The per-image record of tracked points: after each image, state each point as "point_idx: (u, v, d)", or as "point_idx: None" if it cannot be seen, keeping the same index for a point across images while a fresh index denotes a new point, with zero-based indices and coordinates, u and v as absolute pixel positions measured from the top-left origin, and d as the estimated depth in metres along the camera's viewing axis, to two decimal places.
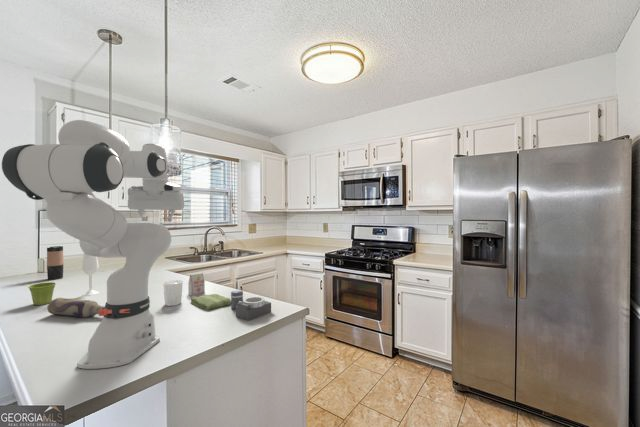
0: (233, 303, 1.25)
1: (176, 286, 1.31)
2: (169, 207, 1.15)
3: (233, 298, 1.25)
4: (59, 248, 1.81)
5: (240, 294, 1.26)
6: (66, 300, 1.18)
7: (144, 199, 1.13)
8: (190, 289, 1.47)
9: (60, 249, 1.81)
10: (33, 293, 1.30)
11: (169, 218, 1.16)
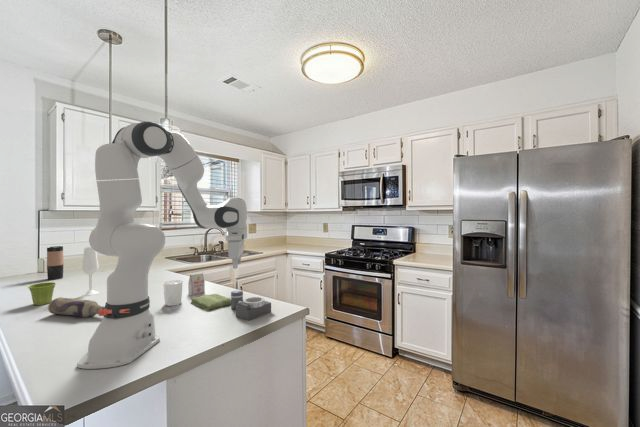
0: (233, 303, 1.25)
1: (176, 286, 1.31)
2: None
3: (233, 298, 1.25)
4: (59, 248, 1.81)
5: (240, 294, 1.26)
6: (66, 300, 1.19)
7: None
8: (190, 289, 1.47)
9: (60, 249, 1.81)
10: (33, 293, 1.30)
11: (233, 265, 1.23)
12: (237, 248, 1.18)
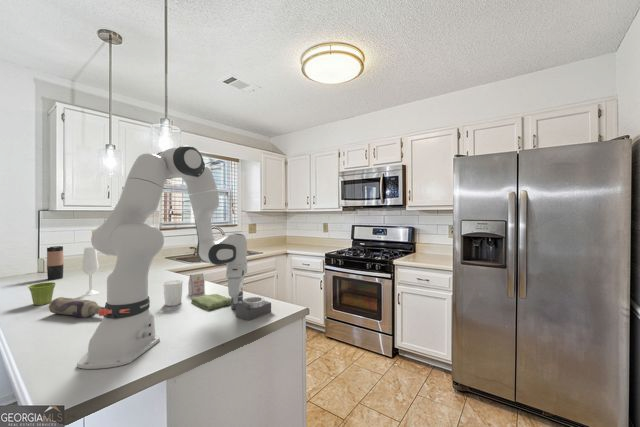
0: (233, 303, 1.25)
1: (176, 286, 1.31)
2: None
3: None
4: (59, 248, 1.81)
5: (240, 294, 1.26)
6: (67, 300, 1.19)
7: None
8: (190, 289, 1.47)
9: (60, 249, 1.81)
10: (33, 293, 1.30)
11: None
12: (237, 285, 1.18)
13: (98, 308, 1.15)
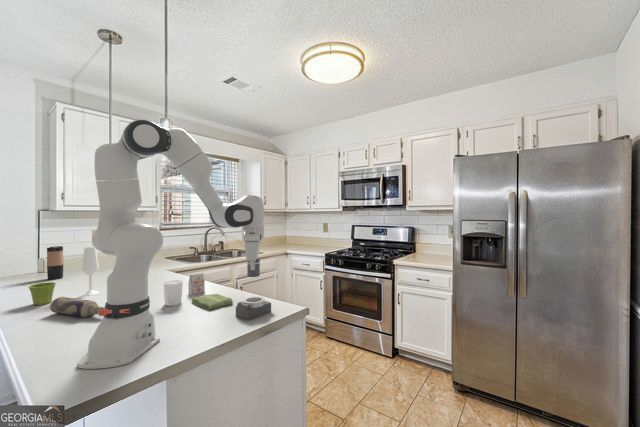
0: (250, 270, 1.17)
1: (176, 286, 1.31)
2: None
3: None
4: (59, 248, 1.81)
5: (257, 261, 1.18)
6: (67, 299, 1.19)
7: None
8: (190, 289, 1.47)
9: (60, 249, 1.81)
10: (33, 293, 1.30)
11: None
12: (255, 249, 1.10)
13: (97, 308, 1.15)
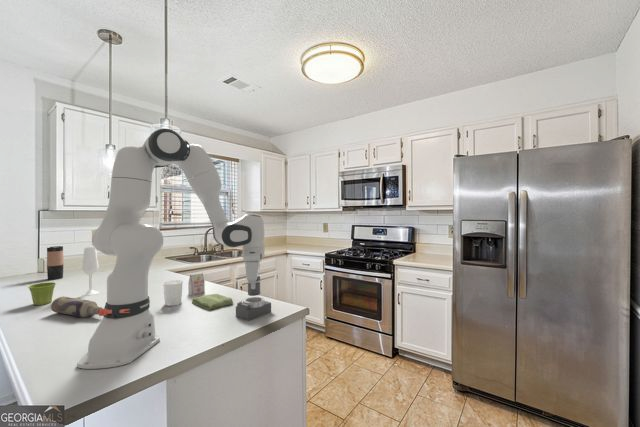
0: (250, 289, 1.18)
1: (176, 286, 1.31)
2: None
3: (250, 283, 1.18)
4: (59, 248, 1.81)
5: (257, 279, 1.18)
6: (68, 299, 1.20)
7: None
8: (190, 289, 1.47)
9: (60, 249, 1.81)
10: (33, 293, 1.30)
11: (251, 286, 1.16)
12: (255, 269, 1.10)
13: (96, 308, 1.15)
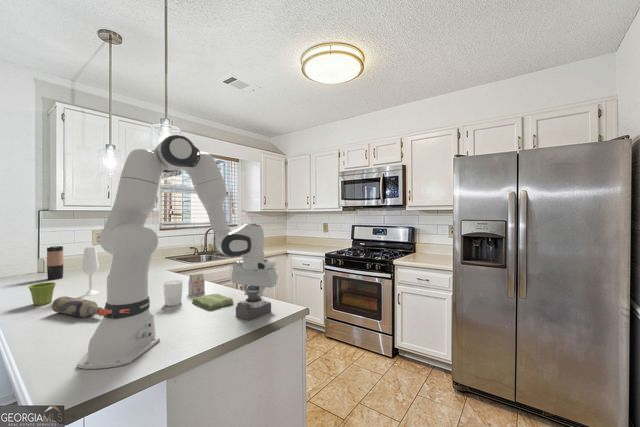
0: (255, 298, 1.18)
1: (176, 286, 1.31)
2: (262, 284, 1.16)
3: (256, 292, 1.18)
4: (59, 248, 1.81)
5: None
6: (68, 299, 1.20)
7: (243, 274, 1.20)
8: (190, 289, 1.47)
9: (60, 249, 1.81)
10: (33, 293, 1.30)
11: (259, 294, 1.18)
12: (275, 275, 1.18)
13: (96, 309, 1.15)
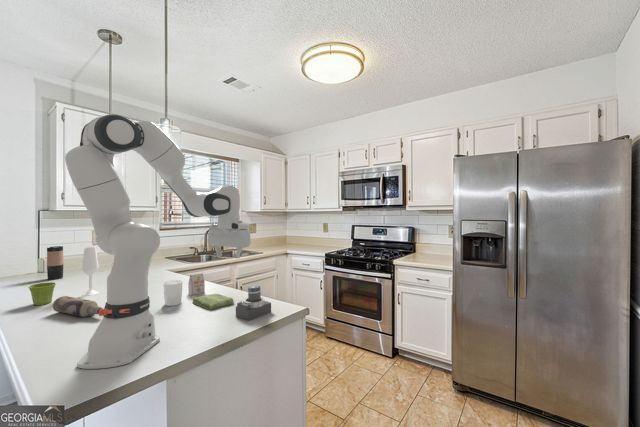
0: (256, 299, 1.18)
1: (176, 286, 1.31)
2: (235, 244, 1.18)
3: (256, 293, 1.18)
4: (59, 248, 1.81)
5: None
6: (69, 299, 1.20)
7: (218, 236, 1.22)
8: (190, 289, 1.47)
9: (60, 249, 1.81)
10: (33, 293, 1.30)
11: (236, 255, 1.19)
12: (249, 236, 1.20)
13: (95, 308, 1.15)
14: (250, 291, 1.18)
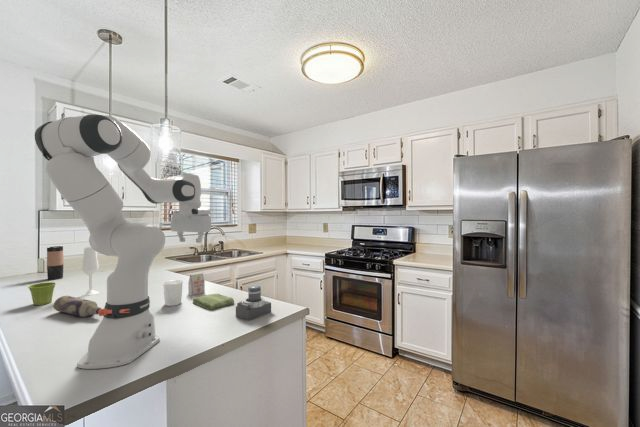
0: (257, 299, 1.18)
1: (176, 286, 1.31)
2: (196, 230, 1.23)
3: (257, 294, 1.18)
4: (59, 248, 1.81)
5: (260, 288, 1.20)
6: (69, 298, 1.20)
7: (180, 222, 1.26)
8: (190, 289, 1.47)
9: (60, 249, 1.81)
10: (33, 293, 1.30)
11: (197, 240, 1.24)
12: (210, 221, 1.24)
13: (94, 309, 1.15)
14: (251, 291, 1.17)
